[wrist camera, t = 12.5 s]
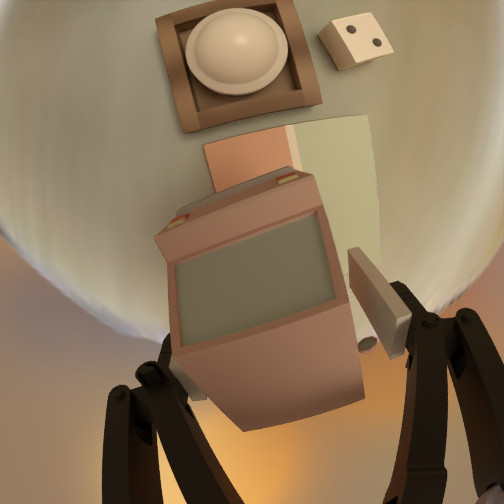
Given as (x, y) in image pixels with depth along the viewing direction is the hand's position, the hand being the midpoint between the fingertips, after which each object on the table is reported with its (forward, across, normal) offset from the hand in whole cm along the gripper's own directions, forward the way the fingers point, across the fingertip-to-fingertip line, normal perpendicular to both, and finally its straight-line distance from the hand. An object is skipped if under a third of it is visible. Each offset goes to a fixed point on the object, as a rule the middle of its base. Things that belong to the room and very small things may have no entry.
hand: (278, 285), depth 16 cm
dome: (+11, +1, +16) cm, 20 cm away
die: (+12, +12, +16) cm, 24 cm away
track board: (+13, +4, 0) cm, 13 cm away
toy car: (+2, 0, -1) cm, 2 cm away
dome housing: (+12, +1, +16) cm, 20 cm away
